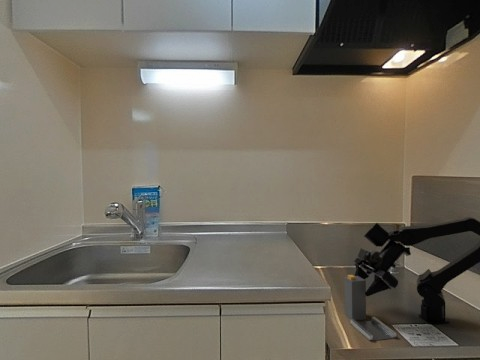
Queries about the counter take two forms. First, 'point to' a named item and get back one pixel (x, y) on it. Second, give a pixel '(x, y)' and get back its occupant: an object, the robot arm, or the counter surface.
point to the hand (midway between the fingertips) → (358, 290)
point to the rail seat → (373, 329)
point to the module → (355, 297)
